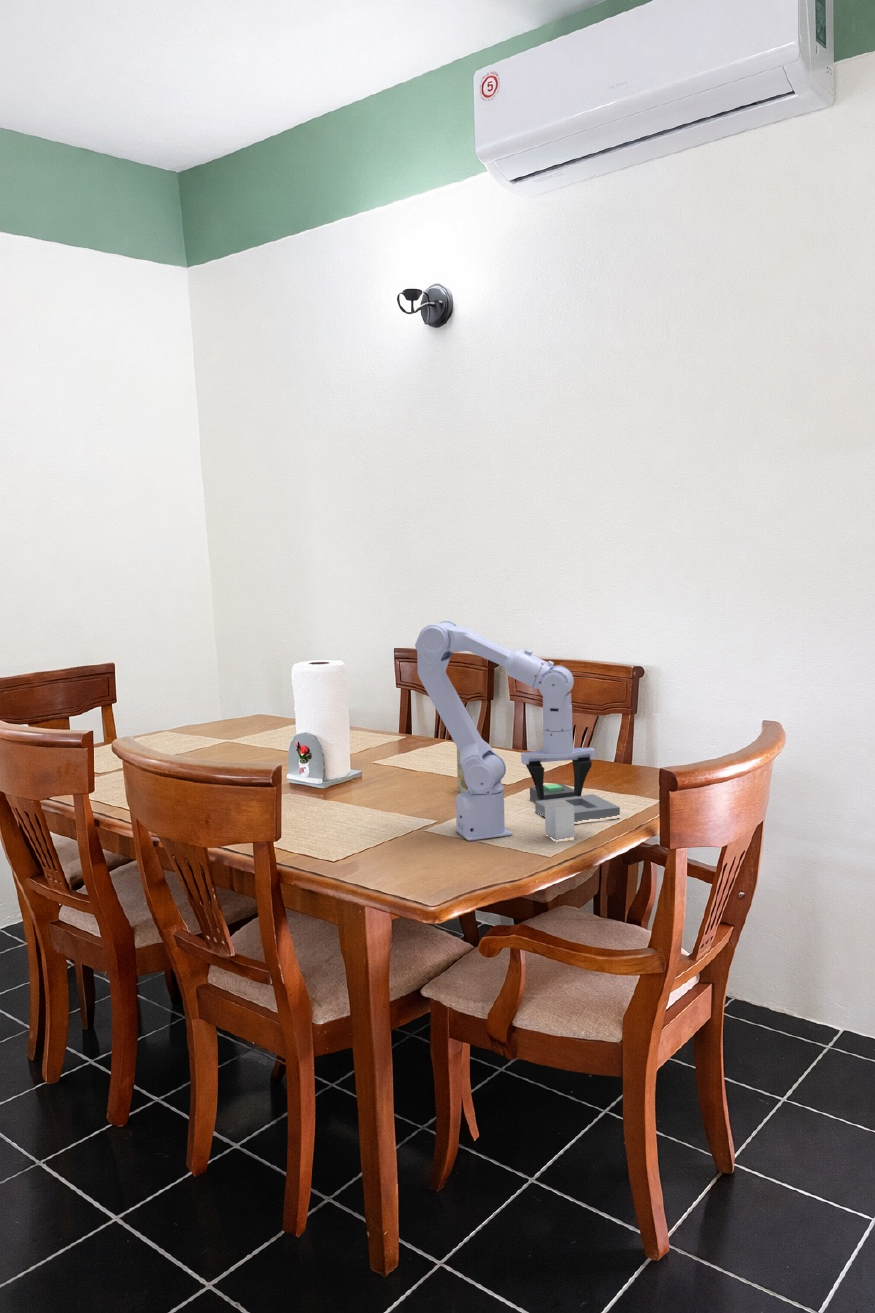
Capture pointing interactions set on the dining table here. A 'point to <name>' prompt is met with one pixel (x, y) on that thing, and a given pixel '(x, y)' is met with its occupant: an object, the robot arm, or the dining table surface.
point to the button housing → (552, 793)
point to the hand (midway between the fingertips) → (559, 797)
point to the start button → (553, 788)
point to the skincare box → (460, 775)
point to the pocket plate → (584, 807)
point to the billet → (559, 819)
